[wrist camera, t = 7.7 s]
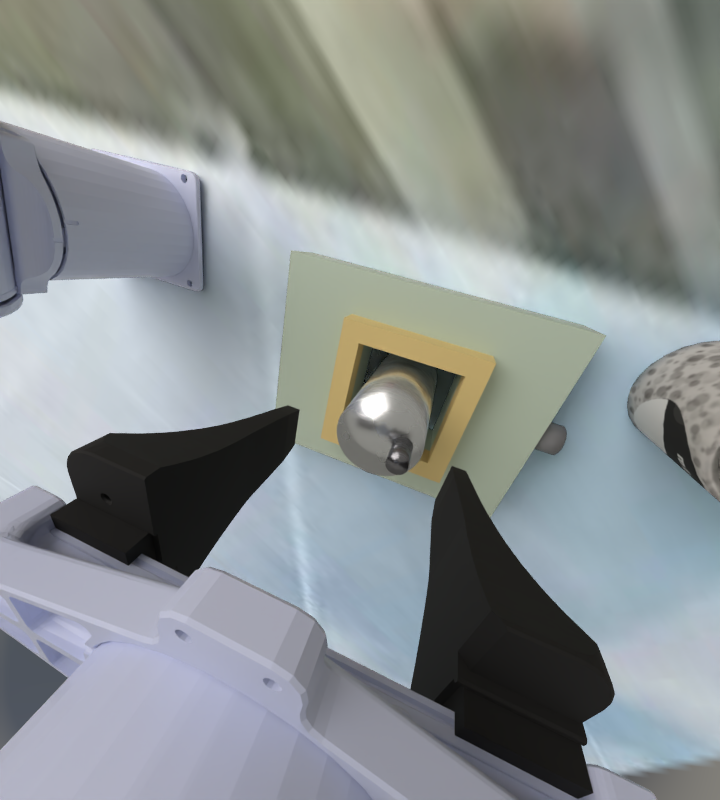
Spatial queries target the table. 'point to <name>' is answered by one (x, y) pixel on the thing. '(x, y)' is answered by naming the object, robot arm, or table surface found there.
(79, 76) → the table surface
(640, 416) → the mug
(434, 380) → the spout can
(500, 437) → the green board with socket
